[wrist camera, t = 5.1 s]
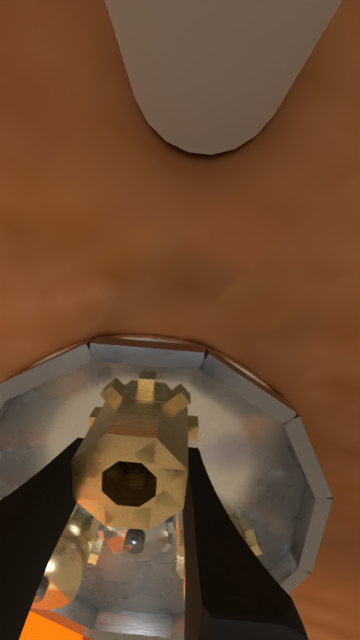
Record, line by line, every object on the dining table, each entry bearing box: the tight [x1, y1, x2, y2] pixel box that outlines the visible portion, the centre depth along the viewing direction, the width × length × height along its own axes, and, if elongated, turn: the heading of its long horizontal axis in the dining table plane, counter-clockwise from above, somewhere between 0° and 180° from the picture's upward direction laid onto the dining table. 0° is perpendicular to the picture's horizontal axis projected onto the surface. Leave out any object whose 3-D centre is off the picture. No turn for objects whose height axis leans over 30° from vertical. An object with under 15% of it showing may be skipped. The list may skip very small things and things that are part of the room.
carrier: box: [0, 334, 333, 640], centre depth 15 cm, size 24×24×4 cm
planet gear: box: [72, 370, 199, 530], centre depth 13 cm, size 6×6×5 cm
